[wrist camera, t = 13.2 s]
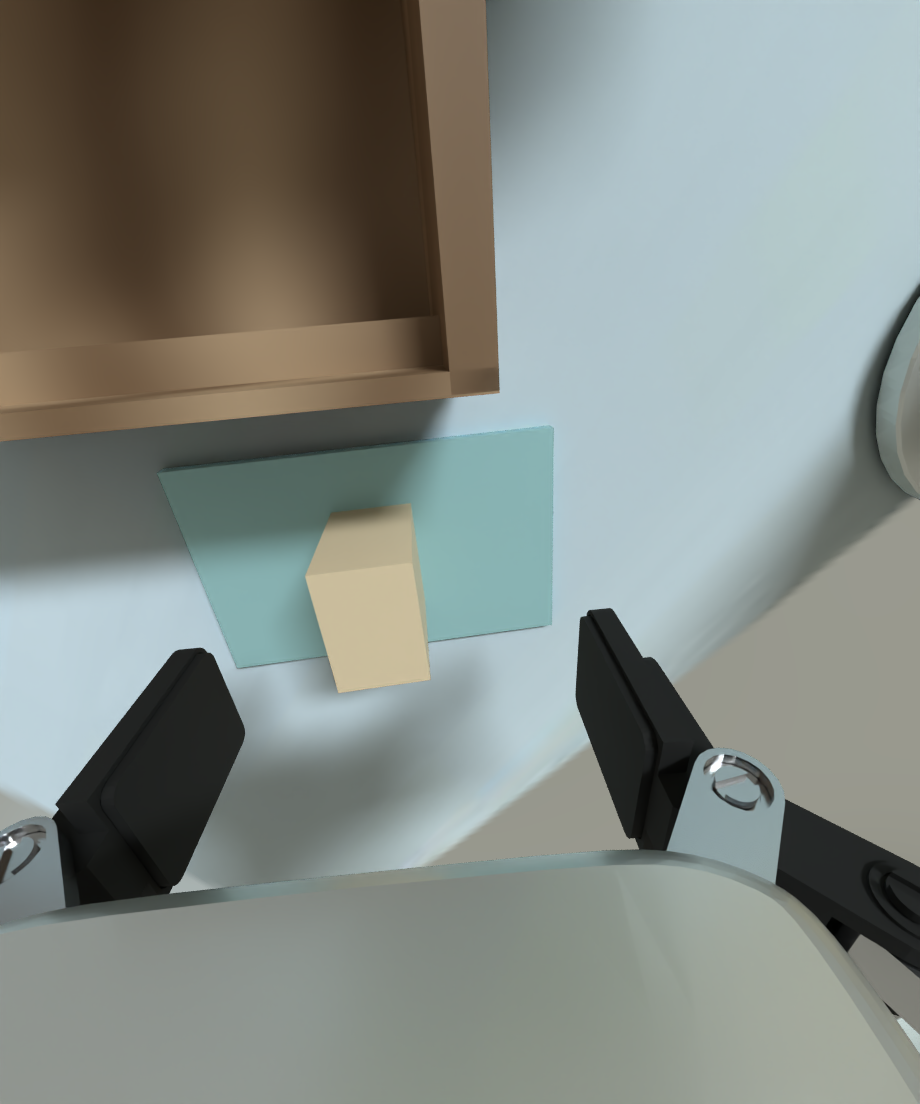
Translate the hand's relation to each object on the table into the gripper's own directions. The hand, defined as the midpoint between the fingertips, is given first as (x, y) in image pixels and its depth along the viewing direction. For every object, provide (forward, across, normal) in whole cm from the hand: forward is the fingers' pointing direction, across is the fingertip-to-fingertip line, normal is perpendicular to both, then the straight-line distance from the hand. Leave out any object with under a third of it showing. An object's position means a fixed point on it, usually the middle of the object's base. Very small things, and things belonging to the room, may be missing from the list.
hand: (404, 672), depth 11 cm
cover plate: (+8, +1, 0) cm, 8 cm away
